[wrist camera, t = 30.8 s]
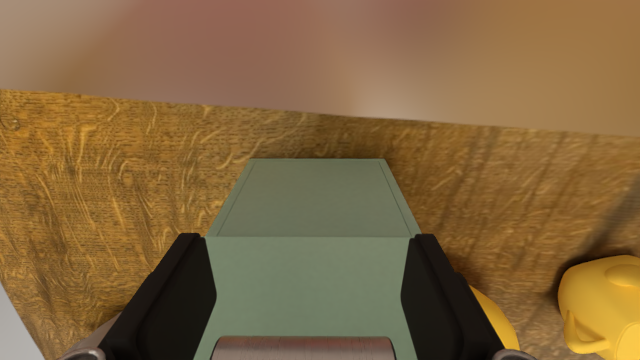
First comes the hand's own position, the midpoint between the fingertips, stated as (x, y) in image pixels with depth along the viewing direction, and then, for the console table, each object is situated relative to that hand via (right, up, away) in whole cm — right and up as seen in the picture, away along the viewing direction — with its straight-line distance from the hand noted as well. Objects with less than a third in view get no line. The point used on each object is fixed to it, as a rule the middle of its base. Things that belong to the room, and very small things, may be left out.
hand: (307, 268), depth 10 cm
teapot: (+37, -10, +29) cm, 48 cm away
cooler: (0, 0, +24) cm, 24 cm away
